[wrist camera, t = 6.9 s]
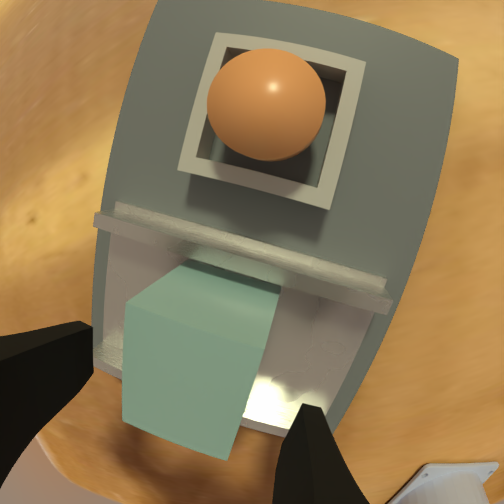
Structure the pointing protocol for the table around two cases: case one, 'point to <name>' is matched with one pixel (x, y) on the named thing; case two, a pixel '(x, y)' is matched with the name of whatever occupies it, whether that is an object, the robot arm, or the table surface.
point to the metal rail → (285, 317)
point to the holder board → (300, 166)
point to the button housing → (198, 163)
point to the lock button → (266, 104)
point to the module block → (194, 354)
